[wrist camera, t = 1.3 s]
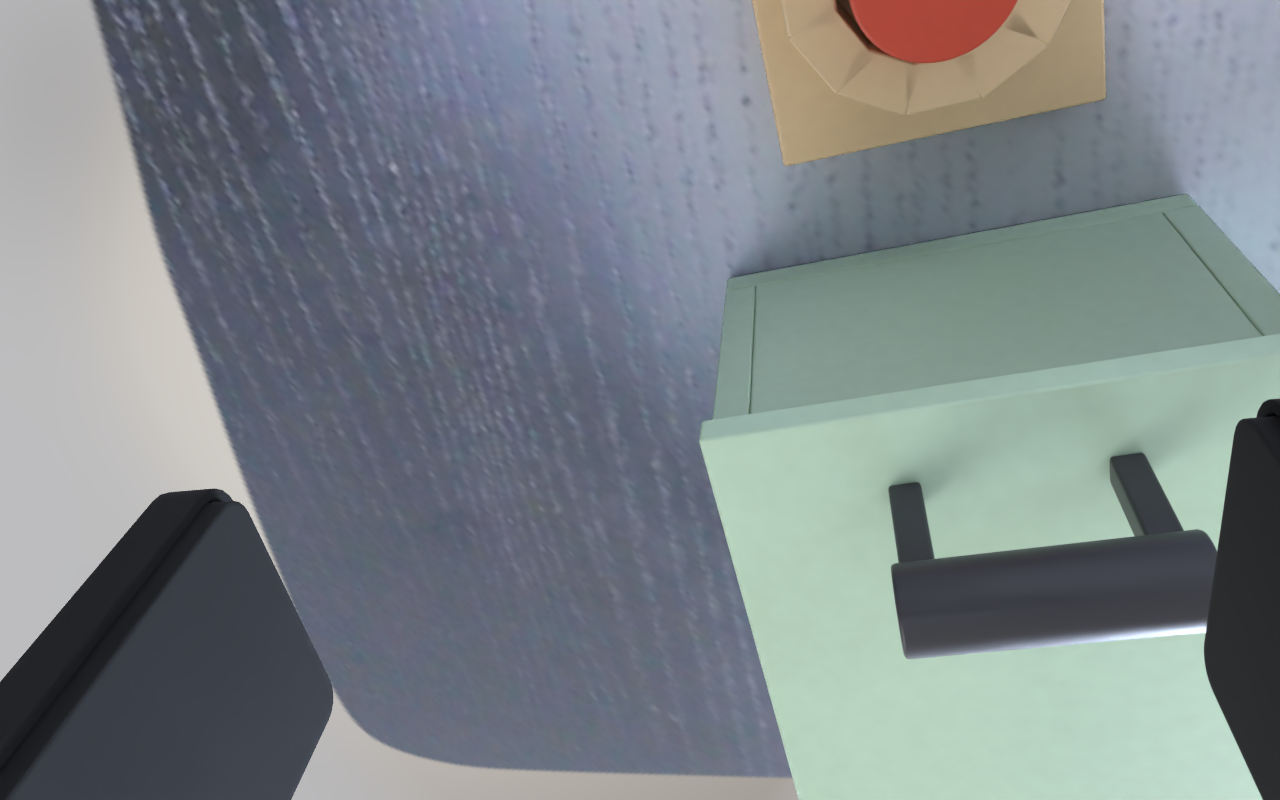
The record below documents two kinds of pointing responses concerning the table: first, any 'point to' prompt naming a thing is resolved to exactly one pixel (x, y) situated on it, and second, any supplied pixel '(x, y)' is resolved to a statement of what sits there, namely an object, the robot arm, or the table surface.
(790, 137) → the control block
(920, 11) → the button
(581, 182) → the table surface
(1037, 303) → the green hinged box
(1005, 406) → the lid
